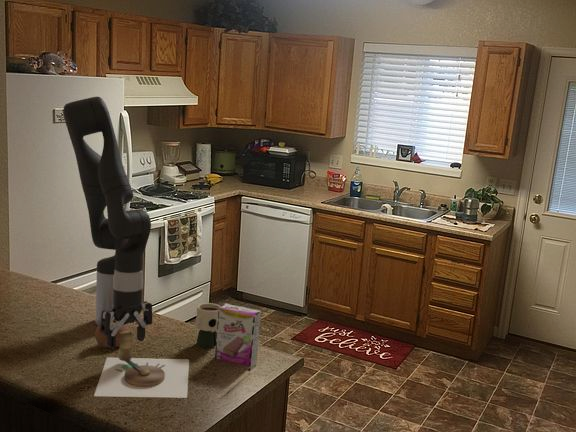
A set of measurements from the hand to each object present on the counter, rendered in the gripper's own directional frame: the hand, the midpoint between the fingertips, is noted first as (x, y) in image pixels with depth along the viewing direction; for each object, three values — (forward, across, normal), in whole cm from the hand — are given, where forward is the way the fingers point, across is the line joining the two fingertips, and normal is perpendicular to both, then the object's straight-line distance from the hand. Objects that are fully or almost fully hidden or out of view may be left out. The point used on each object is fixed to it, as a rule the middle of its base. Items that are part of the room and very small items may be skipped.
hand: (126, 344), depth 170 cm
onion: (+8, -4, -14) cm, 17 cm away
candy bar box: (+8, -26, +15) cm, 31 cm away
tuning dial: (+5, +1, +7) cm, 9 cm away
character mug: (+8, -26, +2) cm, 27 cm away
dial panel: (+7, +1, +10) cm, 12 cm away
